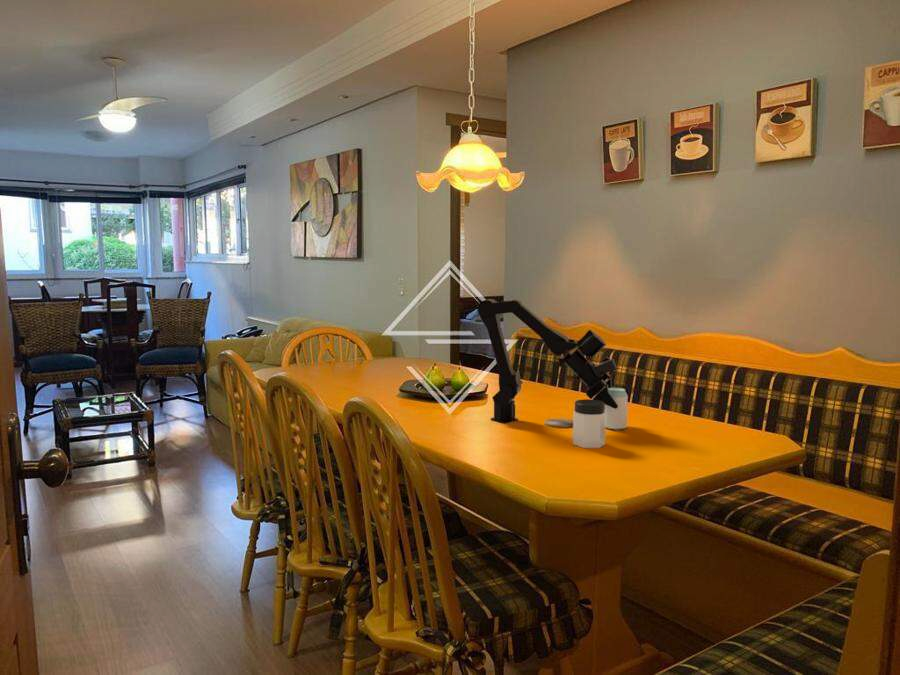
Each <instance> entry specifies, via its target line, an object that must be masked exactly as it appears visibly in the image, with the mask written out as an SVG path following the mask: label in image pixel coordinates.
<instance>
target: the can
mask: <svg viewBox="0 0 900 675" xmlns="http://www.w3.org/2000/svg"><path fill="white" fill-rule="evenodd" d="M608 392H609V394H610V395H611V397H612V398H613V399H614V401H615V402H616V404H617V405H618V407H617V408H616V409H615V408H612V407H610V406H608V405H605V412H606V423H605V429H607V428H608V429H607V430H610V429H614V430H613V431H622V430H621V429H623V430H624V429H626V428H627V427H628V404H629V403H628V397H629V396H628V393H627V392H626V389H625V388H622V387H613V388H608Z"/></svg>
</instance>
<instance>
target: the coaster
mask: <svg viewBox="0 0 900 675" xmlns="http://www.w3.org/2000/svg"><path fill="white" fill-rule="evenodd" d="M544 423H545V424H544V425H545V426H547V425H548V426H547V427H550V426H552V427H551V428H555V427H560V428H559V429H566V428H565V427H570V428H573V419H569V418H558V417H557V418H556V417H555V418H550V419H545V421H544Z"/></svg>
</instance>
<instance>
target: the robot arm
mask: <svg viewBox="0 0 900 675" xmlns="http://www.w3.org/2000/svg"><path fill="white" fill-rule="evenodd" d="M476 309H477V313H478V315H479V317H480V320H481V322H482V323H483V325H484V327H485V328H486V329H487V334H488V336H489V339H490V343H491V347H492V350H493V354H494V358H495V361H496V362H495V363H496V365H497V369H498V387H499V391H497V392H496V393H495V394H494V395H493V396H492V400H493V417H490V420H491V421H495V422H498V423H501V424H506V423H511V422H516V421H519V418H517V417H516V404H515V402H516V401H515V400H514V399H515V398H516V396H517V395H519V393H520V392H521V391H522V385H523V381H522V379H521V373H520V371H516V372H515V369H514V368H513V367H512V364H511V360H510V356H509V352H508V349H507V346H506V341H505V338H504V334H503V331H502V326H501V314H508V313H510V314H513V315H514V316H515V317H517V318H518V319H519V320H521V321H522V323H524V324H525V325H526V326H527V327H528V328H529V329H531V330H532V331H533V332H534V333H535V334H537V335H538V337H540V339H541V340H542V341H543V344H545V346H546V347H547V348H548V349H549V350H550V352H551V353H552V354H553V355H556V356H560V355H564V354H565V353H566V352H567V353H566V354H565V355H564V356H563V357H561V356H560V357H558V367H559V368H561V367H562V366H564V364H565V365H566V366H567V367H568V368H569V369H570V370H571V371H572V372H573V374H575V375H576V379H578V380H580V381H581V382H582V383H583V384H584V385H585V386H586V393H585V395H586V396H587V397H588V398H589V399H590V400H599V401H602V402H604V403H605V405H608V406H610V407H612V408H615V409H616V408H617V407H618V405H617V404H616V402H615V401H614V399H613V398H612V397H611V395H610V394H609V392H608V388H614V387H613V386H612V377H611V374H610V373H609V372H615V371H616V370H617V369H618V366H617V363H616V362H615V359H614V358H610V357H609V356H605V357H602V362H600V363H598V364H596V363H594V362H591V361H590V360H588V359H587V358H589V357H591V358H594V357H595V356H596V355H597V354H598V353H599V352H600V351H601V350H602V349H603V348H604V347H605V346H607V344H606V342H605V341H604V339H603V338H602V337H601V336H600V335H598V334H596V332H594V331H593V330H592V329H589V330H587V332H585V334H584V335H583V336H582V337H581V338H580V339H572V338H571V339H570V338H569V337H568V336H567V335H565V334H563V333H562V332H560V331H558V330H556V329H554V328H552V327H550V326H548V325H547V324H546V323H545V322H544V321H543V320H542V319H540V318H539V317H538V316H537V315H536V314H535V313H533V312H532V311H531V310H530V309H528V308H527V306H525V305H524V304H523V303H522V302H521V301H520V300H518V299H512V300H500V301H497V300H496V299H493V298H489V299H483V300H482V301H480V302H479V304H478V305H477V308H476ZM577 346H578V348H577V349H575V348H576V347H577ZM574 350H575V351H574ZM579 350H580V351H579ZM571 351H573V352H571Z"/></svg>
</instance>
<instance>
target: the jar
mask: <svg viewBox="0 0 900 675" xmlns="http://www.w3.org/2000/svg"><path fill="white" fill-rule="evenodd" d="M572 412H573V414H572V416H573V417H572V420H573V427H572V445H573V444H574V446H576V445H577V447H579V448H582V449H601V448H602V447H604V446H605V445H606V427H605V423H606V412H605V403H604V402H602V401H599V400H593V399H590V398H589V399H587V398H586V399H579V400H578V399H577V400H575V401H574V411H572Z"/></svg>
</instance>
